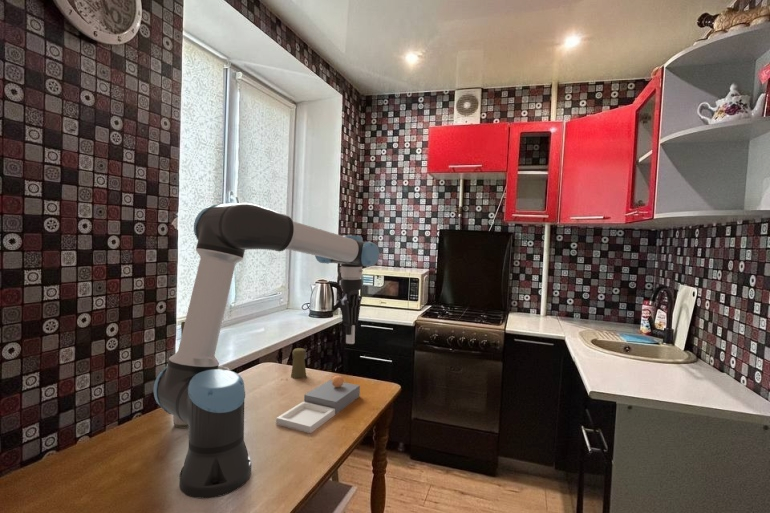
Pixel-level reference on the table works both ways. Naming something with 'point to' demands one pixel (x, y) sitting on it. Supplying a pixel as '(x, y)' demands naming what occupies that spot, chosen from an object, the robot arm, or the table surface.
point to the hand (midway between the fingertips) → (350, 343)
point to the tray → (305, 417)
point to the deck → (333, 395)
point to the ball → (337, 381)
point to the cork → (298, 363)
